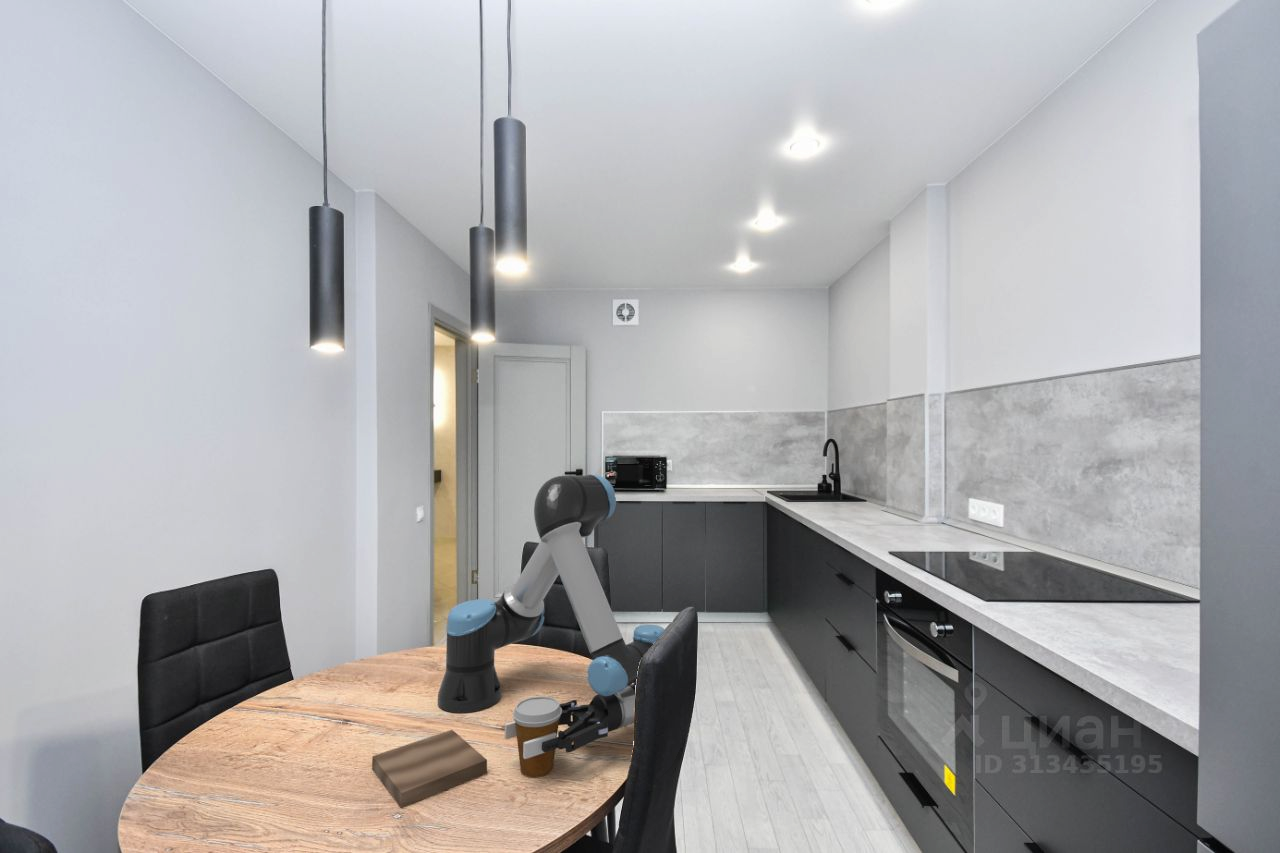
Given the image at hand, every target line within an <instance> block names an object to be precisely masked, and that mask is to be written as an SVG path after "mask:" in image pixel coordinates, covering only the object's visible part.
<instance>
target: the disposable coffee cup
mask: <svg viewBox="0 0 1280 853" xmlns="http://www.w3.org/2000/svg"><path fill="white" fill-rule="evenodd" d="M560 704H561V703H560V702H559V700H557V699H556V698H554V697H550V696H540V695H538V696H532V697H530V696H529V697H527V698H524V699H522V700H520V701H519V702H517V703H516V705H515V707H514V710H513V712H512V718H513V721H515V725H516V733H517V736H516V742H517V750H518V758H519V759H518V760H519V767H520V768H519V769H520V773H521V774H522V775H523V776H525V777H527V778H542V777H544V776H546V775H548V774H550V773H551V772H552V771H553V769H554V764H555V763H554V762H555V756H556V749H554V750H551V751H548V752H545V753H542V754H539V755H536V756H533V757H530V758H527V759H524V758H523V742H526V741H529V740H533V739H536V738H539V737H542V736H545V735H548V734H551V733H554V732H555V733H556V734H557V735H558V731H559V726H560V725H559V718H560V715H561V713H562V709H561V707H560Z"/></svg>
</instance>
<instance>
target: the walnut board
mask: <svg viewBox="0 0 1280 853" xmlns="http://www.w3.org/2000/svg"><path fill="white" fill-rule="evenodd" d="M371 758H372V760H371V762H372V763H371V770H372V771H373V773H374V774H375V775H376V777H377V778H378V779H379V781H380V782H381V784H382V785H383V786H384V787H385V789H386V791H388V792H389V795H390V796H392V798H393V799H394V801H395V802H396V803H397V805H398V806H399V807H400V808H405V807H407V806H409V805H412V804H415V803H417V802H420V801H423V800H424V799H427V798H429V797H432V796H435V795H437V794H440V793H442V792H444V791H446V790H449V789H452V788H454V787H456V786H459V785H462V784H464V783H467V782H470V781H472V780H474V779H476V778H479V777H481V776H484V775H486V774H487V773H488V759H487V758H486V757H484V756H483V755H482V754H481V753H480V752H478V750H476V749H475V748H474V747H473V746H472V745H471V744H470V743H468V742H467V740H465V739H464V738H462V736H460V735H459V734H458V733H457V732H456V731H455V730H453V729H449V730H447V731H444V732H441V733H438V734H435V735H432V736H428V737H426V738H422V739H420V740H417V741H414V742H411V743H407V744H405V745H402V746H399V747H396V748H392V749H390V750H386V751H383V752H381V753H378V754H376V755H372V757H371Z"/></svg>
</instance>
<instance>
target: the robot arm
mask: <svg viewBox="0 0 1280 853" xmlns="http://www.w3.org/2000/svg"><path fill="white" fill-rule="evenodd" d="M535 496H536V497H535V500H534V505H533V506H534V507H533V515H534V523H535V527H536V530H537V534H538V535H539V539H540V542H539V543H538V544H537V546H536V548H535V550H534V551H533V554H532V555H531V556H530V559H529V560H528V562H527V564H526V565H525V567H524V569H523V570H522V572H521V574H520V575H519V577H518V579H517V580H516V582H515V583H512V584H509V585H508V586H507V587H506V589H505V590H504V591H503V593H502V594H501V597H500V598H499V599H498V600H497V601H493V600H491V599H487V598H478V599H477V598H476V599H475V600H473V599H472V600H467V601H463V602H461V603H459V604H457V605H454V607H452V608H451V609H450V610H449V612H448V614H447V622H446V627H445V630H446V655H445V656H446V657H445V658H446V659H445V661H446V662H445V663H446V664H445V672H444V676H443V678H442V681H441V684H440V687H439V690H438V694H437V705H438V707H439V708H440V709H441V710H443V711H445V712H450V713H472V712H473V713H474V712H478V711H482V710H485V709H489V708H490V707H491V706H494V705H495V704H497V703H498V702H500V699H501V697H502V688H501V687H502V686H501V682H500V681H499V680H500V679H499V676H498V674H497V671H496V670H497V669H496V667H495V656H496V655H495V652H496V650H498V649H500V648H504V647H506V646H507V647H508V646H510V645H512V644H515V643H518V642H523V641H525V640H528V639H529V638H531V637H533V636H534V635H536V634H537V633H538V632H539V631H540V630H541V628H542V626H543V624H544V621H545V615H544V614H545V602H544V599H545V598H546V596H547V594H548V593H549V591H550V590H551V589H552V586H553V584H554V583H555V581H556V580H557V578H558V577H560V580H561V582H562V585H563V588H564V589H565V592H566V595H567V598H568V600H569V602H570V604H571V607H572V611H573V613H574V616H575V619H576V620H577V623H578V625H579V628H580V631H581V634H582V636H583V639H584V640H585V644H586V646H587V649H588V651H589V654H590V656H591V659H592V660H591V662H590V663H589V665H588V668H587V681H588V684H589V686H590V688H591V689H592V690H593V692H595V693H596V695H594V696H593V698H592V699H591V701H590V703H589V704H580V705H578V704H577V703H578V701H577V699H572V700H569V701H567V702H564V703H559V704H560V707H561V709H562V713H561V715H560V718H559V725H558V726H566V725H567V727H566V729H564V730H558V733H557V734H556V733H555V732H554V733H551V734H548V735H545V736H542V737H539V738H536V739H533V740H529V741H526V742H523V758H524V759H527V758H530V757H533V756H536V755H539V754H542V753H545V752H548V751H551V750H554V749H555V750H557V749H558V750H565V752H566V753H567V754H569V753H572V752H574V751H576V750H578V749H581V748H582V747H584V746H587V745H589V744H591V743H593V742H595V741H597V740H599V739H604V738H607V737H608V736H609V735H608V734H609V733H610V732H613V731H616V730H617V731H618V729H621V728H627V727H628V726H630V725H633V724H635V723H634V708H635V685H636V679H637V671H638V666H639V662H640V660H641V658H642V657H643V655H644V654H645V653H646V652H647V651H648V649H649V648H650V647H651V646H652V645H653V643H654V642H655V641H656V640H657V639H658V638H659V637H660V635H661V634H662V633H663V632H664V631H666V629H664V628H663V627H662V626H660V625H657V624H643V625H641V624H640V625H638V626H636V627H635V628H634V630H633V636H632V639H633V640H632V642H629V643H627V644H626V642H625V640H624V637H623V636H622V633H621V631H620V628H619V626H618V625H619V624H618V622H617V620H616V618H615V615H614V612H613V611H612V609H611V605H610V604H609V601H608V598H607V596H606V594H605V591H604V589H603V587H602V584H601V581H600V579H599V576H598V574H597V572H596V569H595V567H594V565H593V562H592V560H591V557H590V555H589V551H588V549H587V547H586V545H585V542H584V540H583V538H588V537H589V536H591V535H592V533H593V531H594V529H595V528H596V527H597V524H598V523H599V522H600V521H601V522H602V521H605V520H607V519H609V518H611V516H612V515H613V514H614V513H615V509H616V504H617V497H616V492H615V488H614V487H613V485H612V484H611V482H610V481H609V480H608V479H606V478H605V477H604V476H601V475H597V474H595V475H594V474H591V473H590V474H586V475H585V474H584V475H558V476H554V477H552V478H550V479H548V480H547V481H545V482H544V483H543V485H542V486H541V487H540V488H539V489H538V491H537V494H536V495H535ZM512 738H517V733H516V725H515V721H514V720H513V721H511V722H507V723H504V739H505V740H509V739H512Z"/></svg>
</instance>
